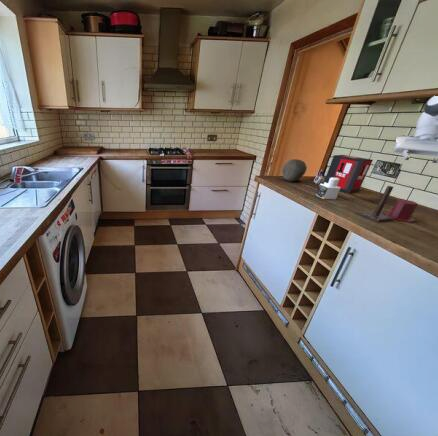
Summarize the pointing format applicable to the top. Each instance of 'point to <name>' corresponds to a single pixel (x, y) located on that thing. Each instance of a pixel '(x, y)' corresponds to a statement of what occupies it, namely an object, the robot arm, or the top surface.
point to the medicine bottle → (328, 188)
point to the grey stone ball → (294, 170)
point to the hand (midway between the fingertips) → (420, 160)
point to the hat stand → (379, 208)
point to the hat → (402, 210)
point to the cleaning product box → (349, 171)
